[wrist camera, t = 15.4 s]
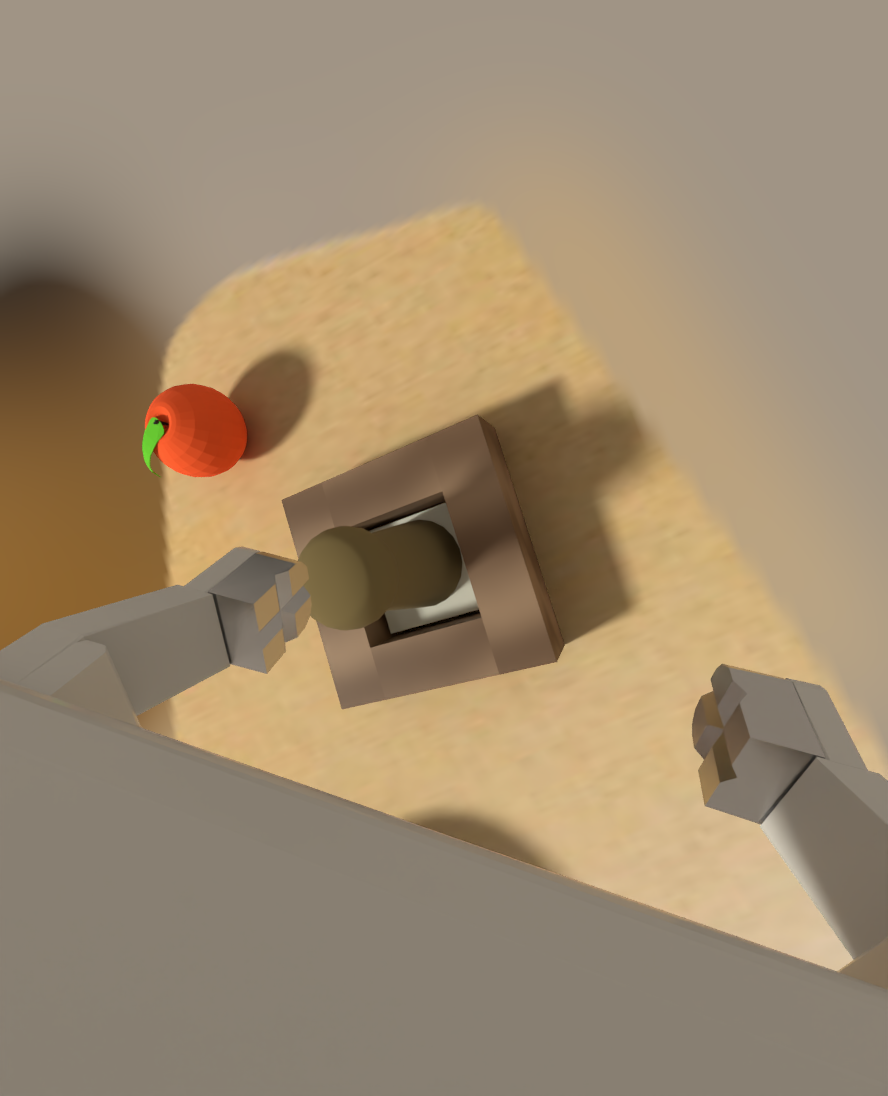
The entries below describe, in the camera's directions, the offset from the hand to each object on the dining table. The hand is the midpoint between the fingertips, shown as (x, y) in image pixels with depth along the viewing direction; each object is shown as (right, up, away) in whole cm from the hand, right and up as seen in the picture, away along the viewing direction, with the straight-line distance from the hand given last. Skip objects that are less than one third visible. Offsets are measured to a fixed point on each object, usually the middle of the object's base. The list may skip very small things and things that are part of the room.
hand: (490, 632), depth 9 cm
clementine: (-19, +10, +30) cm, 37 cm away
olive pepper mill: (-2, +1, +23) cm, 23 cm away
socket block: (-2, 0, +24) cm, 24 cm away
